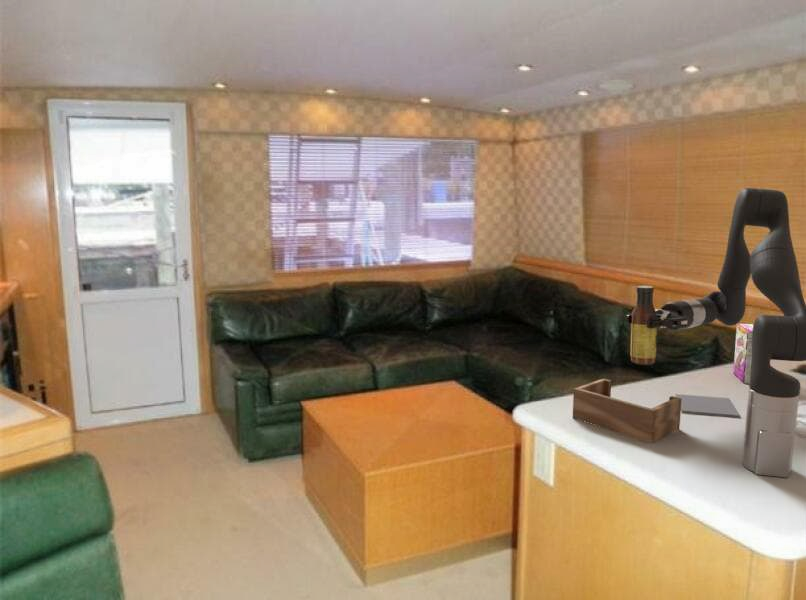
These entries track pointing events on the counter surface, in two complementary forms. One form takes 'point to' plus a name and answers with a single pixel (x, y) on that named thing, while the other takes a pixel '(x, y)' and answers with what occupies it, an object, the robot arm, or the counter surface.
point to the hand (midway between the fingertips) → (637, 321)
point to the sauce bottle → (643, 328)
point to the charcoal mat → (707, 405)
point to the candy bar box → (743, 352)
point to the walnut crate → (625, 413)
